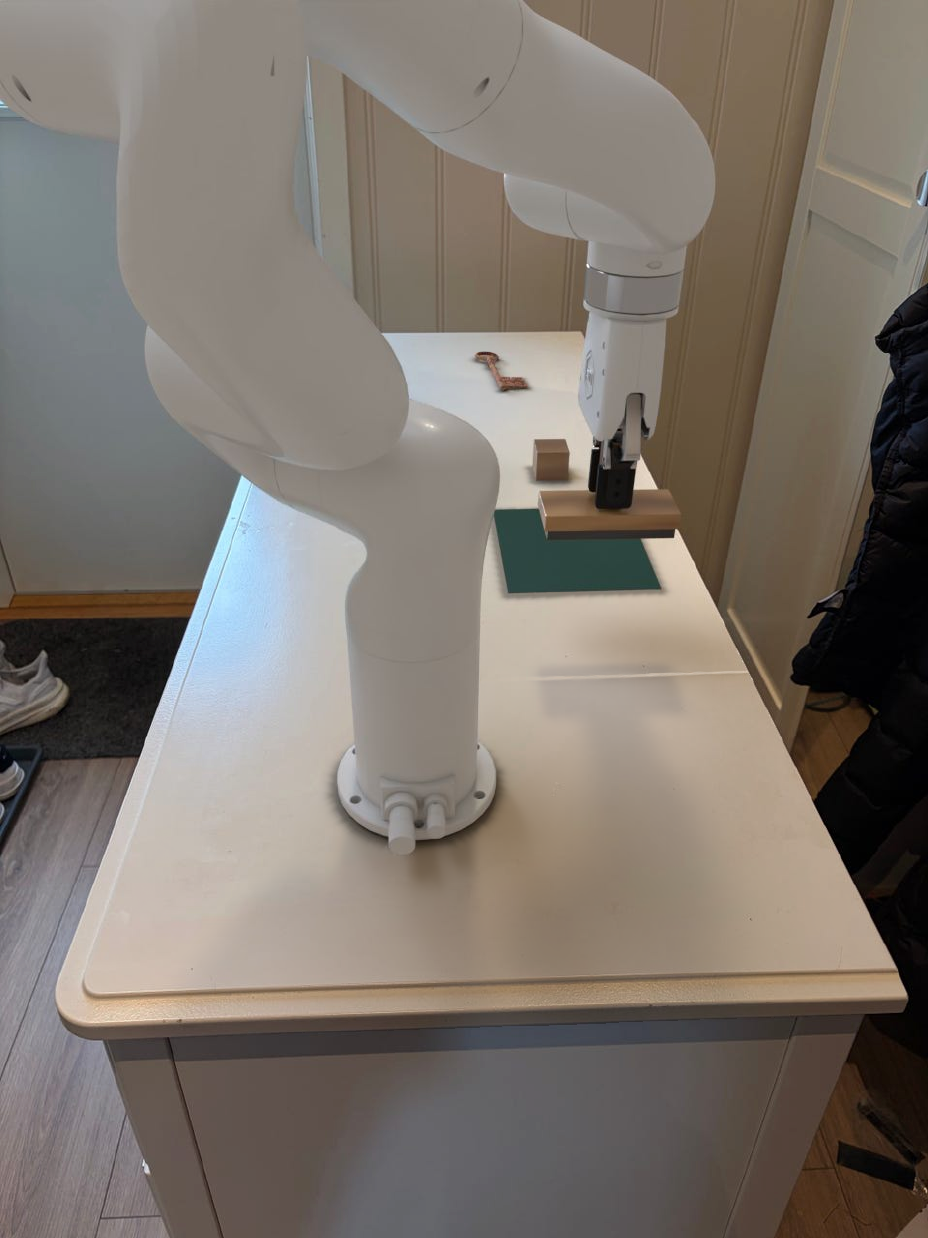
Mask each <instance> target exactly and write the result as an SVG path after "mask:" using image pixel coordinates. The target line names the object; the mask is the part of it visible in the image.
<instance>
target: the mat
mask: <svg viewBox="0 0 928 1238" xmlns="http://www.w3.org/2000/svg"><path fill="white" fill-rule="evenodd" d="M493 520H494V524H495V530H496V536H497V540H498V545H499V550H500V551H499V552H500V556H501V561H502V567H503V573H504V574H503V575H504V578H505V585H506V589H507V594H533V593H536V594H537V593H567V592H568V593H569V592H570V593H571V592H573V593H574V592H610V591H640V590H641V591H645V590H646V591H647V590H649V591H650V590H662V586H661V584H660V582H659V579H658V577H657V575H656V572H655V570H654V567H653V565H652V563H651V561H650V558H649V556H648V553H647V551H646V548H645V546H644V544H643V543H644V542H643V541H642V539H592V540H547V537H546V534H545V530H544V526H543V523H542V519H541V515H540V511H539V508H508V509H507V508H506V509H505V508H504V509H503V508H501V509H495V512H494V516H493Z"/></svg>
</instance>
